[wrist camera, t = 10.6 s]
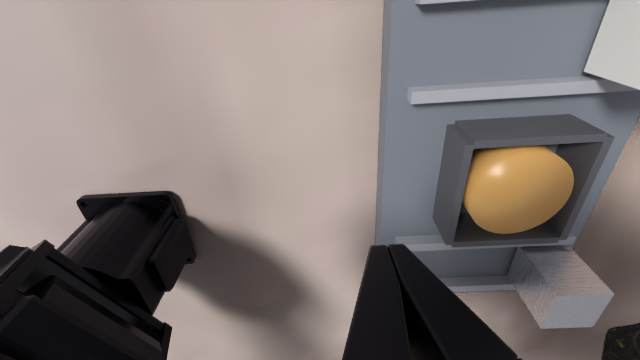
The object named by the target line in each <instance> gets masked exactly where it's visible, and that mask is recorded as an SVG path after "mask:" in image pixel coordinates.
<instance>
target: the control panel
mask: <svg viewBox="0 0 640 360" xmlns="http://www.w3.org/2000/svg"><path fill="white" fill-rule="evenodd" d="M609 1H610V0H384V12H383V39H382V66H381V94H380V121H379V148H378V175H377V202H376V229H375V245H383V244H384V245H386V246H387V245H389V244H404V245H405V246H406V247H407V248H408V249H409V250H410V251H411V252H412V253H414V254H415V255H416V256H417V257H418V258H419V259H420V260H421V261H422V262H423V263H424V264H425V265H426V266H427V267H428V268H429V269H430V270H431V271H432V272H433V273H434V274H435V275H436V276H437V277H438V278H439V279H440V280H441V281H442V282H443V283H444V284H445V285H446V286H447V287H448V288H449V289H450V290H451V291H452V292H453V293H458V292H484V291H511V290H516V289H515V287H514V286H513V284H512V283H511V281H510V280H509V278H508V276H507V275H508V272H509V269H510V267H511V264H512V261H513V259H514V256H515V253H516V250H517V248H518V247H526V246H549V245H569V246H570V247H571V249H572V250H573V248H574V246H575V244H576V242H577V240H578V238H579V236H580V234H581V232H582V230H583V228H584V226H585V224H586V222H587V220H588V218H589V216H590V214H591V212H592V210H593V208H594V206H595V204H596V202H597V200H598V198H599V196H600V194H601V192H602V190H603V188H604V186H605V184H606V182H607V180H608V178H609V176H610V174H611V172H612V170H613V168H614V166H615V164H616V162H617V160H618V158H619V156H620V154H621V152H622V150H623V148H624V146H625V144H626V142H627V140H628V138H629V136H630V134H631V132H632V130H633V128H634V126H635V124H636V122H637V120H638V118H639V116H640V90H639V89H635V88H632V87H629V86H626V85H623V84H620V83H617V82H614V81H611V80H608V79H605V78H602V77H599V76H596V75H593V74H590V73H587V72H584V69H585V66H586V63H587V61H588V58H589V55H590V53H591V50H592V47H593V44H594V42H595V39H596V36H597V34H598V31H599V28H600V25H601V23H602V20H603V17H604V15H605V12H606V9H607V7H608V4H609ZM533 145H544V146H545V147H547V148H548V149H550V150H551V151H552V152H554V153H555V154H556V155H558V156H559V157H561V158H562V159H563V160H565V161H566V162H567V163H568V164H569V166H570V167H571V169H572V172H573V176H574V185H573V189H572V192H571V195H570V197H569V199H568V200H567V202H566V203H565V205H564V206H563V207H562V208H561V209H560V210H559V211H558V212H557V213H556V214H555V215H554V216H552V217H551V218H550V219H548V220H547V221H545V222H544V223H542V224H540V225H538V226H536V227H534V228H531V229H529V230H526V231H522V232H517V233H510V234H500V233H493V232H490V231H487V230H485V229H483V228H481V227H480V226H478V225H477V224H476V223H475V222H474V220H473V219H472V217H471V216H470V214H469V212H468V211H467V209H466V208H465V206H464V205H463V203H462V200H463V195H464V191H465V186H466V182H467V177H468V172H469V168H470V163H471V158H472V154H473V151H474V150H475V149H479V148H497V147H515V146H533Z"/></svg>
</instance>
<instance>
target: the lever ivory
mask: <svg viewBox="0 0 640 360" xmlns="http://www.w3.org/2000/svg"><path fill="white" fill-rule="evenodd" d="M584 72H587V73H590V74H593V75H596V76H599V77H602V78H605V79H608V80H611V81H614V82H617V83H620V84H623V85H626V86H629V87H632V88H635V89H639V90H640V0H610V1H609V4H608V7H607V9H606V12H605V15H604V17H603V20H602V23H601V25H600V28H599V31H598V34H597V36H596V39H595V42H594V44H593V47H592V50H591V53H590V55H589V58H588V61H587V63H586V66H585V69H584Z"/></svg>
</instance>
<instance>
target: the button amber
mask: <svg viewBox="0 0 640 360" xmlns="http://www.w3.org/2000/svg"><path fill="white" fill-rule="evenodd" d="M573 185H574V176H573V172H572V169H571V167H570V166H569V164H568V163H567V162H566V161H565V160H563V159H562V158H561V157H559V156H558V155H556V154H555V153H554V152H552V151H551V150H550V149H548V148H547V147H545V146H544V145H533V146H515V147H497V148H479V149H475V150H474V151H473V154H472V158H471V163H470V168H469V172H468V177H467V182H466V186H465V191H464V195H463V200H462V203H463V205H464V206H465V208H466V209H467V211H468V212H469V214H470V216H471V217H472V219H473V220H474V222H475V223H476V224H477V225H478V226H480V227H481V228H483V229H485V230H487V231H490V232H493V233H500V234H510V233H517V232H522V231H526V230H529V229H531V228H534V227H536V226H538V225H540V224H542V223H544V222H545V221H547V220H548V219H550V218H551V217H552V216H554V215H555V214H556V213H557V212H558V211H559V210H560V209H561V208H562V207H563V206H564V205H565V203H566V202H567V200H568V199H569V197H570V195H571V192H572V189H573Z"/></svg>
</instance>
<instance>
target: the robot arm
mask: <svg viewBox="0 0 640 360" xmlns="http://www.w3.org/2000/svg"><path fill="white" fill-rule="evenodd" d="M164 198H166V199H167V200H165V199H164ZM77 205H78V207H79V209H80V210H81V212H82V214H83V215H84V217H85V219H86V221H85V222H84V223H83V224H82V225H81V226H80V227H79V228H78V229H77V230H76V231H75V232H74V233H73V234H72V235H71V236H70V237H69V238H68V239H67V240H66V241H65V242H64V243H63V244H62V245H61V246H60V247H59V248H58V249H57V250H56V249H55V248H54V245H52V244H51V243H49V242H48V241H47V240H43V241H42V242H40V243H39V244H37V245H36V246H34V247H33V248H31V249H30V248H28V247H18V246H12V245H9V246H7V247H6V248H4V249H3V250H2V251H0V360H167V354H168V348H169V343H170V337H171V331H172V327H171V326H170V325H168V324H167V323H162V322H161V321H159V320H158V319H157V318H155V317H154V316H153V314H154V312H155V310H156V308H157V306H158V304H159V302H160V300H161V298H162V297H163V295H164V293H165V292H169V291H171V290H172V288H173V287H174V285H175V283H176V281H177V279H178V277H179V275H180V273H181V271H182V269H183V267H184V265H185V264H192V263H194V261H195V259H196V253H195V251H194V248H193V246H194V245H193V242H192V239H191V237H190V234H189V231H188V229H187V226H186V224H185V221H184V220H183V219H182V217H181V214H180V212H179V209H178V206H177V204H176V201H175V198H174V196H173V195H172V194H171V193H170V192H167V191H157V192H138V193H119V194H100V195H84V196H82V197H81V198H79V199H78V200H77ZM189 257H190V258H189ZM342 360H522V359H521V358H518V359H517V354H516V353H515V352H514V351H513V350H512V349H511V348H510V347H509V346H508V345H506V344H505V343H504V342H503V341H502V340H501V339H500V338H499V337H498V336H497V335H496V334H495V333H494V332H493V331H492V330H491V329H490V328H489V327H488V326H487V325H486V324H485V323H484V322H483V321H482V320H481V319H480V318H479V317H478V316H477V315H476V314H475V313H474V312H473V311H472V310H471V309H470V308H469V307H468V306H467V305H466V304H465V303H464V302H463V301H462V300H461V299H459V298H458V297H457V296H456V295H455V294H454V293H453V292H452V291H451V290H450V289H449V288H448V287H447V286H446V285H445V284H444V283H443V282H442V281H441V280H440V279H439V278H438V277H437V276H436V275H435V274H434V273H433V272H432V271H431V270H430V269H429V268H428V267H427V266H426V265H425V264H424V263H423V262H422V261H421V260H420V259H419V258H418V257H417V256H416V255H415V254H414V253H412V252H411V251H410V250H409V249H408V248H407V247H406V246H405V245H404V244H389V245H387V246H386V245H384V244H383V245H372V246H370V249H369V253H368V257H367V261H366V265H365V269H364V273H363V277H362V281H361V285H360V289H359V293H358V297H357V301H356V305H355V309H354V314H353V318H352V322H351V326H350V330H349V334H348V338H347V342H346V346H345V350H344V354H343V358H342Z"/></svg>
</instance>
